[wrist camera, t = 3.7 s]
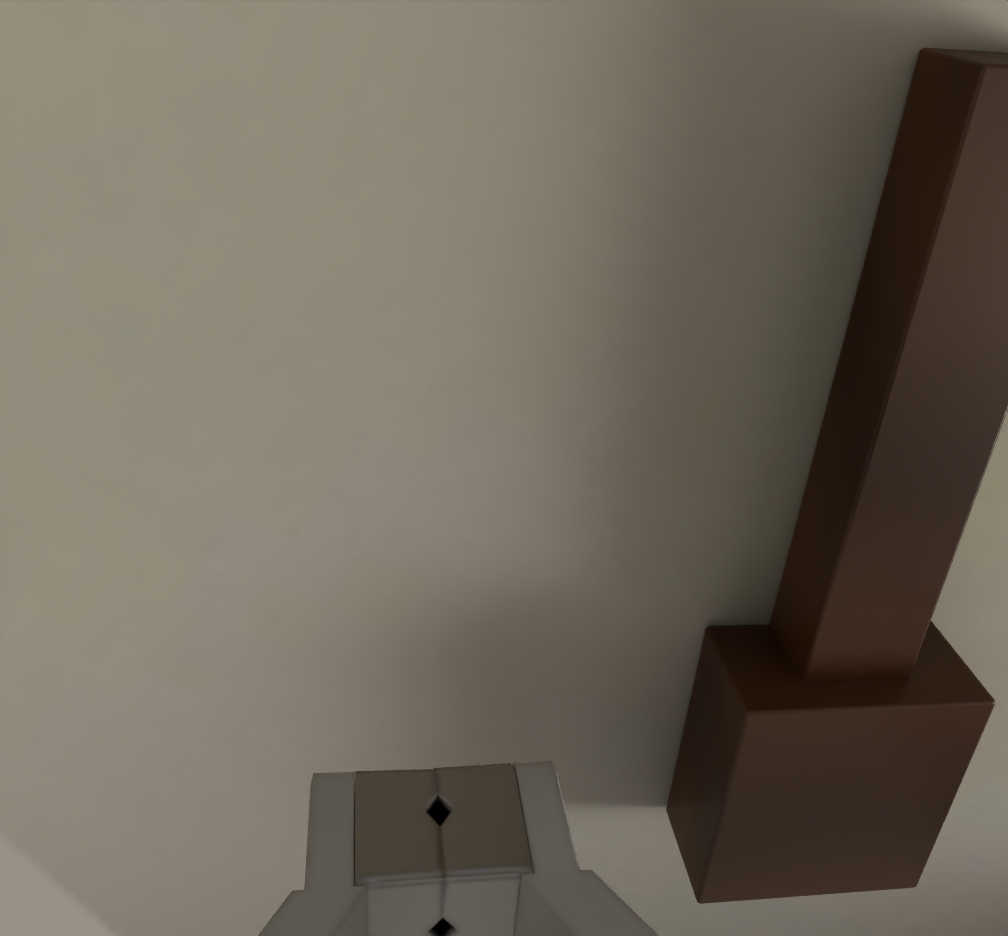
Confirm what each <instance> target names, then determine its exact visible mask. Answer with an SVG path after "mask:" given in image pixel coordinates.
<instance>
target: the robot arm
mask: <svg viewBox="0 0 1008 936" xmlns="http://www.w3.org/2000/svg"><path fill="white" fill-rule="evenodd" d="M258 936H659V935H658V934H657V933H656V932H655V931H654V930H653V929H652V928H651V927H649V926H648V925H647V924H646V923H645V922H644V921H643V920H642V919H641V918H640V917H639V916H638V915H637V914H636V913H635V912H634V911H633V910H632V909H631V908H630V907H629V906H628V905H627V904H626V903H625V902H624V901H623V900H622V899H621V898H620V897H619V896H618V895H617V894H616V893H615V892H614V891H613V890H612V889H611V888H610V887H609V886H608V885H607V884H606V883H605V882H604V881H603V880H602V879H600V878H599V877H598V876H597V875H596V874H595V873H594V872H593V871H592V870H580V868H579V864H578V860H577V855H576V851H575V847H574V842H573V838H572V834H571V830H570V825H569V821H568V817H567V813H566V808H565V804H564V800H563V795H562V791H561V787H560V783H559V778H558V774H557V770H556V767H555V765H554V764H553V763H552V761H546V762H528V763H513V764H512V765H511V763H506V764H490V765H475V766H459V767H444V768H434V769H422V770H386V771H355V776H354V772H337V773H313V777H312V781H311V786H310V804H309V821H308V838H307V856H306V873H305V890H295V891H292V892H291V893H290V894H289V896H288V897H287V898H286V899H285V901H284V902H283V903H282V905H281V906H280V907H279V909H278V910H277V911H276V913H275V914H274V915H273V917H272V918H271V919H270V921H269V922H268V923H267V925H266V926H265V927H264V928H263V930H262V931H261V932H260V934H259V935H258Z"/></svg>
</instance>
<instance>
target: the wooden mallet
mask: <svg viewBox="0 0 1008 936" xmlns="http://www.w3.org/2000/svg"><path fill="white" fill-rule="evenodd" d="M1007 410H1008V53H1003V52H987V51H970V50H954V49H937V48H923V49H921V50H920V52H919V55H918V59H917V62H916V66H915V70H914V74H913V78H912V82H911V85H910V89H909V93H908V97H907V101H906V105H905V109H904V112H903V116H902V120H901V124H900V128H899V132H898V135H897V139H896V143H895V147H894V151H893V155H892V158H891V162H890V166H889V170H888V174H887V178H886V181H885V185H884V189H883V193H882V197H881V201H880V204H879V208H878V212H877V216H876V220H875V224H874V227H873V231H872V235H871V239H870V243H869V247H868V250H867V254H866V258H865V262H864V266H863V270H862V273H861V277H860V281H859V285H858V289H857V293H856V296H855V300H854V304H853V308H852V312H851V316H850V320H849V323H848V327H847V331H846V335H845V339H844V343H843V346H842V350H841V354H840V358H839V362H838V366H837V369H836V373H835V377H834V381H833V385H832V389H831V392H830V396H829V400H828V404H827V408H826V412H825V415H824V419H823V423H822V427H821V431H820V435H819V438H818V442H817V446H816V450H815V454H814V458H813V461H812V465H811V469H810V473H809V477H808V481H807V484H806V488H805V492H804V496H803V500H802V504H801V507H800V511H799V515H798V519H797V523H796V527H795V531H794V534H793V538H792V542H791V546H790V550H789V554H788V557H787V561H786V565H785V569H784V573H783V577H782V580H781V584H780V588H779V592H778V596H777V600H776V603H775V607H774V611H773V615H772V619H771V623H770V625H749V626H718V627H707V628H706V631H705V635H704V640H703V644H702V649H701V653H700V658H699V663H698V667H697V672H696V676H695V681H694V685H693V690H692V695H691V699H690V704H689V708H688V713H687V717H686V722H685V727H684V731H683V736H682V740H681V745H680V749H679V754H678V759H677V763H676V768H675V772H674V777H673V781H672V786H671V791H670V795H669V800H668V804H667V809H666V811H667V814H668V817H669V820H670V823H671V826H672V829H673V832H674V835H675V837H676V840H677V843H678V846H679V849H680V852H681V855H682V858H683V861H684V864H685V867H686V870H687V873H688V876H689V879H690V882H691V885H692V888H693V891H694V894H695V897H696V900H697V902H698V903H700V904H702V903H715V902H729V901H742V900H755V899H769V898H782V897H795V896H809V895H822V894H835V893H849V892H862V891H875V890H888V889H902V888H914V887H916V886H917V883H918V881H919V879H920V876H921V874H922V872H923V869H924V867H925V865H926V862H927V860H928V858H929V855H930V853H931V851H932V849H933V846H934V844H935V842H936V839H937V837H938V835H939V832H940V830H941V828H942V825H943V823H944V821H945V819H946V816H947V814H948V812H949V809H950V807H951V805H952V802H953V800H954V798H955V795H956V793H957V791H958V788H959V786H960V784H961V782H962V779H963V777H964V775H965V772H966V770H967V768H968V765H969V763H970V761H971V758H972V756H973V754H974V752H975V749H976V747H977V745H978V742H979V740H980V738H981V735H982V733H983V731H984V728H985V726H986V724H987V721H988V719H989V717H990V715H991V712H992V710H993V708H994V705H995V700H994V699H993V698H992V696H991V695H990V694H989V693H988V691H987V690H986V689H985V688H984V686H983V685H982V684H981V683H980V681H979V680H978V679H977V678H976V676H975V675H974V674H973V673H972V671H971V670H970V669H969V668H968V666H967V665H966V664H965V663H964V661H963V660H962V659H961V658H960V656H959V655H958V654H957V653H956V651H955V650H954V649H953V648H952V646H951V645H950V644H949V642H948V641H947V640H946V639H945V637H944V636H943V635H942V634H941V632H940V631H939V630H938V629H937V627H936V626H935V625H934V624H933V622H932V621H931V618H932V615H933V613H934V610H935V607H936V604H937V602H938V599H939V596H940V593H941V591H942V588H943V585H944V583H945V580H946V577H947V574H948V572H949V569H950V566H951V563H952V561H953V558H954V555H955V552H956V550H957V547H958V544H959V542H960V539H961V536H962V533H963V531H964V528H965V525H966V522H967V520H968V517H969V514H970V512H971V509H972V506H973V503H974V501H975V498H976V495H977V492H978V490H979V487H980V484H981V481H982V479H983V476H984V473H985V471H986V468H987V465H988V462H989V460H990V457H991V454H992V451H993V449H994V446H995V443H996V441H997V438H998V435H999V432H1000V430H1001V427H1002V424H1003V421H1004V419H1005V416H1006V413H1007Z"/></svg>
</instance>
